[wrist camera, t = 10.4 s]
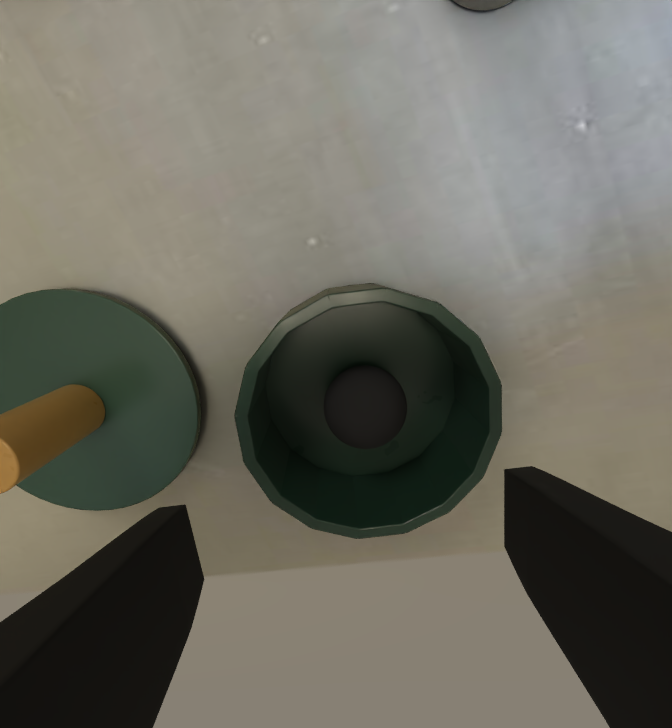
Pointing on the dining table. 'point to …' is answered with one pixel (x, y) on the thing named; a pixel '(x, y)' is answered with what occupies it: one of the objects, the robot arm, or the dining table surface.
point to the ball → (365, 407)
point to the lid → (91, 401)
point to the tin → (394, 459)
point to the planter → (482, 4)
